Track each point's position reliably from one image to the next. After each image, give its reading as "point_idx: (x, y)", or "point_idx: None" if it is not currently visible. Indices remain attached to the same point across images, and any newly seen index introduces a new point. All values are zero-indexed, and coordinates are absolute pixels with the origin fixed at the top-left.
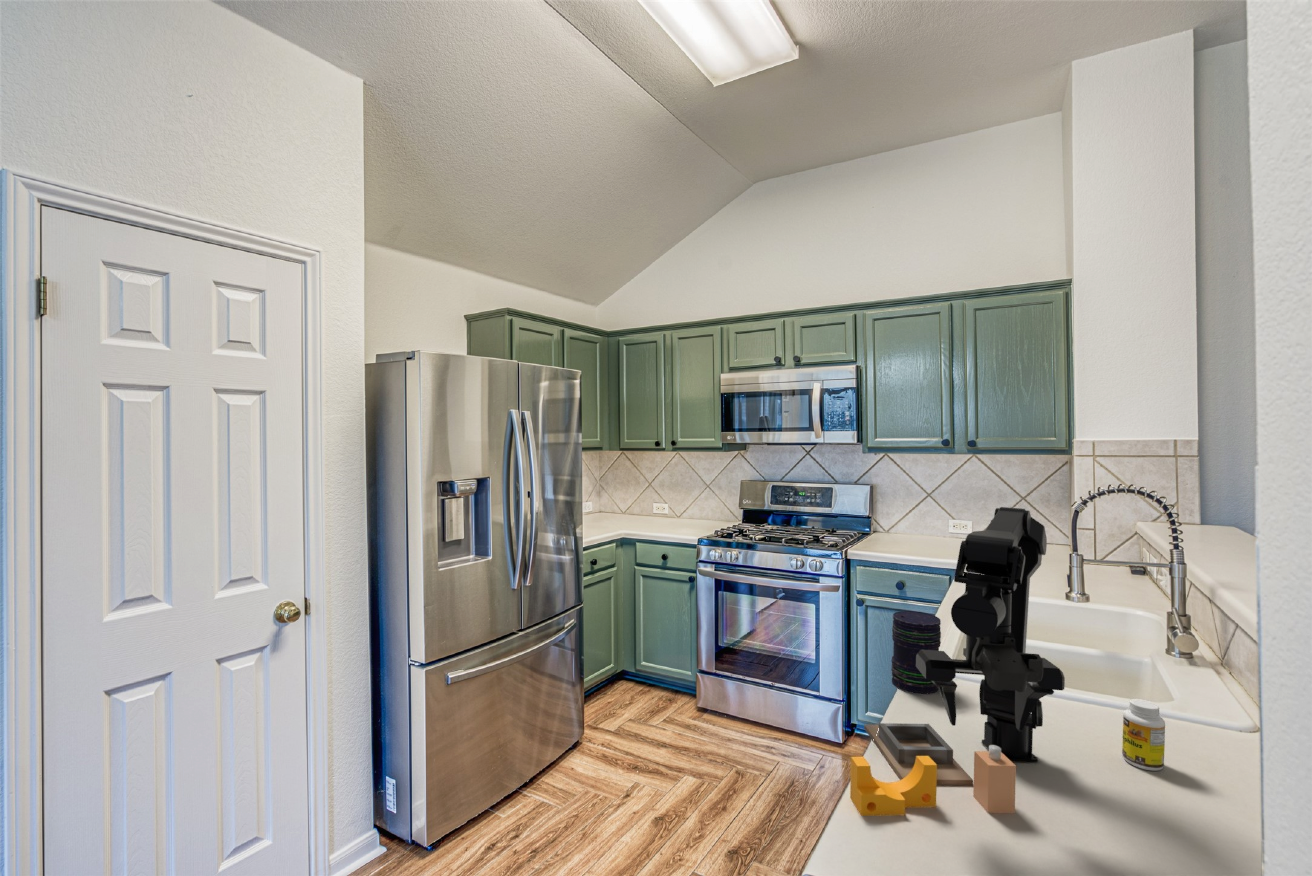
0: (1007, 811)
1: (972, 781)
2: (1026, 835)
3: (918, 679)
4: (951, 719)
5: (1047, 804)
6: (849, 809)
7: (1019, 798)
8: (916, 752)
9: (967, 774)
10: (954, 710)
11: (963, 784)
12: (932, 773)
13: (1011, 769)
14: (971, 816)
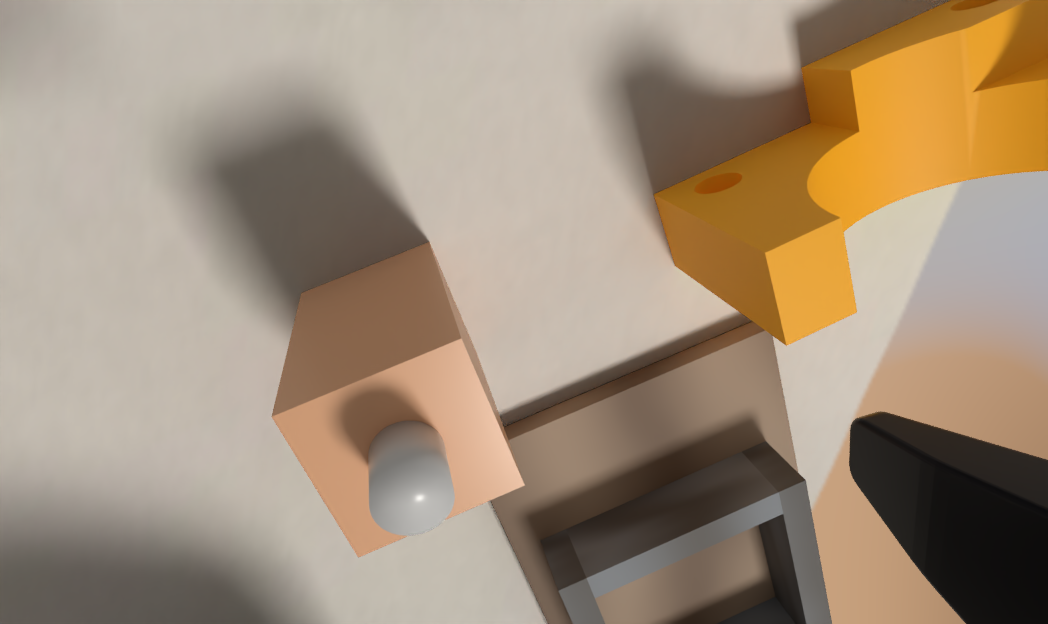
0: (335, 280)
1: None
2: (260, 108)
3: None
4: (948, 431)
5: (138, 434)
6: None
7: (268, 427)
8: (718, 506)
9: None
10: (1039, 498)
11: (507, 426)
12: (758, 228)
13: (304, 391)
14: (507, 177)
